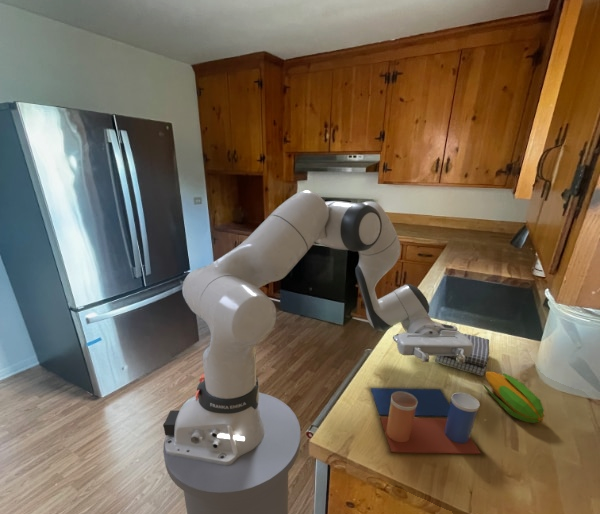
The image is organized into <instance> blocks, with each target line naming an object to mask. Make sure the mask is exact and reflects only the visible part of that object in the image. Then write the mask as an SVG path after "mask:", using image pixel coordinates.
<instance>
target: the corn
mask: <svg viewBox="0 0 600 514" xmlns="http://www.w3.org/2000/svg"><path fill="white" fill-rule="evenodd" d="M485 379H486V380H487V383H488V385H489V386H490V387H491V390H493V392H494V393H495V394H496V395H497V396H496V395H495V394H494V393H493V392H492V391H491V390H490V389H489V388H488V387H487V386H486V385H485V384H484V383H483V384H482V385H483V387H484V388H485V389H486V391H487V393H489V394H490V395H491V396H492V398H493V399H495V400H496V402H497V403H498V404H499V405H500V406H501V407H502V408H503V409H504V410H505V411H506V412H507V413H508V414H509V416H511V417H513V418H515V419H517V420H520V421H521V422H525V423H529V424H531V423H532V424H535V423H539V422H542V421H543V419H544V417H545V413H544V411H545V410H544V407H543V404H542V402H541V399H540V398H539V397H538V396H537V395H536V394H534V393H533V392H532V391H531V390H530V389H529V388H528V387H527V386H526V385H525V384H524V383H522V382H521V381H520V380H518V379H516V378H515V377H514V376H512V375H509V374H507V373H504V372H502V374H501V373H498V372H495V371H485ZM499 398H500V399H499Z"/></svg>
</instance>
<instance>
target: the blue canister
mask: <svg viewBox="0 0 600 514" xmlns="http://www.w3.org/2000/svg"><path fill="white" fill-rule="evenodd" d="M449 404H450V408H449V412H448V416H447V417H446V418H447V420H446V424H445V428H444V433H445V435H446V436H447V437H448V438H449V439H450V440H452V441H454V442H456V443H467V442H468V441H469V439H470V437H471V435H472V433H473V429H474V426H475V422H476V418H477V414H478V412H479V411H478V410H479V409H480V406H481V403H480V402H479V400H478V399H477V398H476V397H474V396H473V395H472V394H468V393H465V392H455V393H453V394H452V395H451V399H450V403H449Z"/></svg>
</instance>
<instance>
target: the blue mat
mask: <svg viewBox="0 0 600 514" xmlns="http://www.w3.org/2000/svg"><path fill="white" fill-rule="evenodd" d="M370 391H371V395H372V398H373V400H374V404H375V406H376V409H377V413H378V416H389V410H390V403H391V395H392V394H393V393H395V392H399V391H402V392H407V393H410V394H412V395H413V396H414V397H415V398H416V399H417V401H418V403H417V407H416V411H415V416H414V417H445V418H447V416H448V412H449V408H450V404H451V403H449V401H448V400H447V398H446V396H445V395H444V393H443V392H442V390H441V389H440V388H439V389H438V388H437V389H436V388H393V387H392V388H391V387H389V388H388V387H386V388H385V387H383V388H381V387H370Z"/></svg>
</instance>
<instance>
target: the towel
mask: <svg viewBox="0 0 600 514" xmlns="http://www.w3.org/2000/svg"><path fill="white" fill-rule="evenodd" d="M457 331H458V332H460V331H459V330H457ZM461 333H462V334H464V335H465V336H466V337H467V338H468V339H469V340H470V341H471V342H472V343H473V350H472V353H471V355H470V356H465V362H458V361H457V360H456V357H457V356H435V363H437V364H440V365H444V366H447V367H450V368H454V369H458V370H460V371H463V372H467V373H471V374H474V375H478V376H481V377H482V376H484V374H485V373H486V368H487V366H488V361H489V357H490V339H488V338H485V337H482V336H477V335H471V334H468V333H463V332H461Z"/></svg>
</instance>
